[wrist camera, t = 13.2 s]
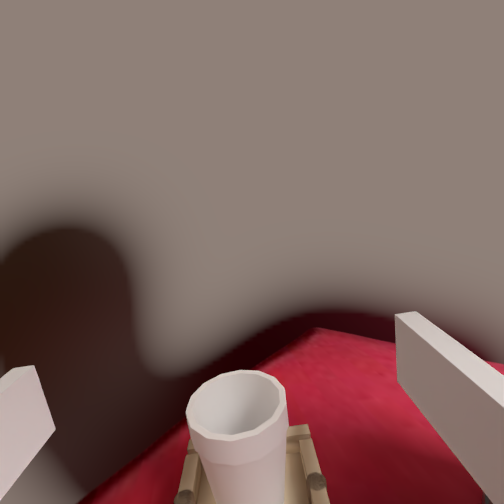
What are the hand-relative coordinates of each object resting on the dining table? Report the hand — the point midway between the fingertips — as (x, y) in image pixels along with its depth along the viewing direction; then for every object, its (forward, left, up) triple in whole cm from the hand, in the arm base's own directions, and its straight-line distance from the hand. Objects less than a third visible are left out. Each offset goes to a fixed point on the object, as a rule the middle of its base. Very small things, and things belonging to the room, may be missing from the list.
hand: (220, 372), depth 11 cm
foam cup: (+1, -15, -26) cm, 30 cm away
